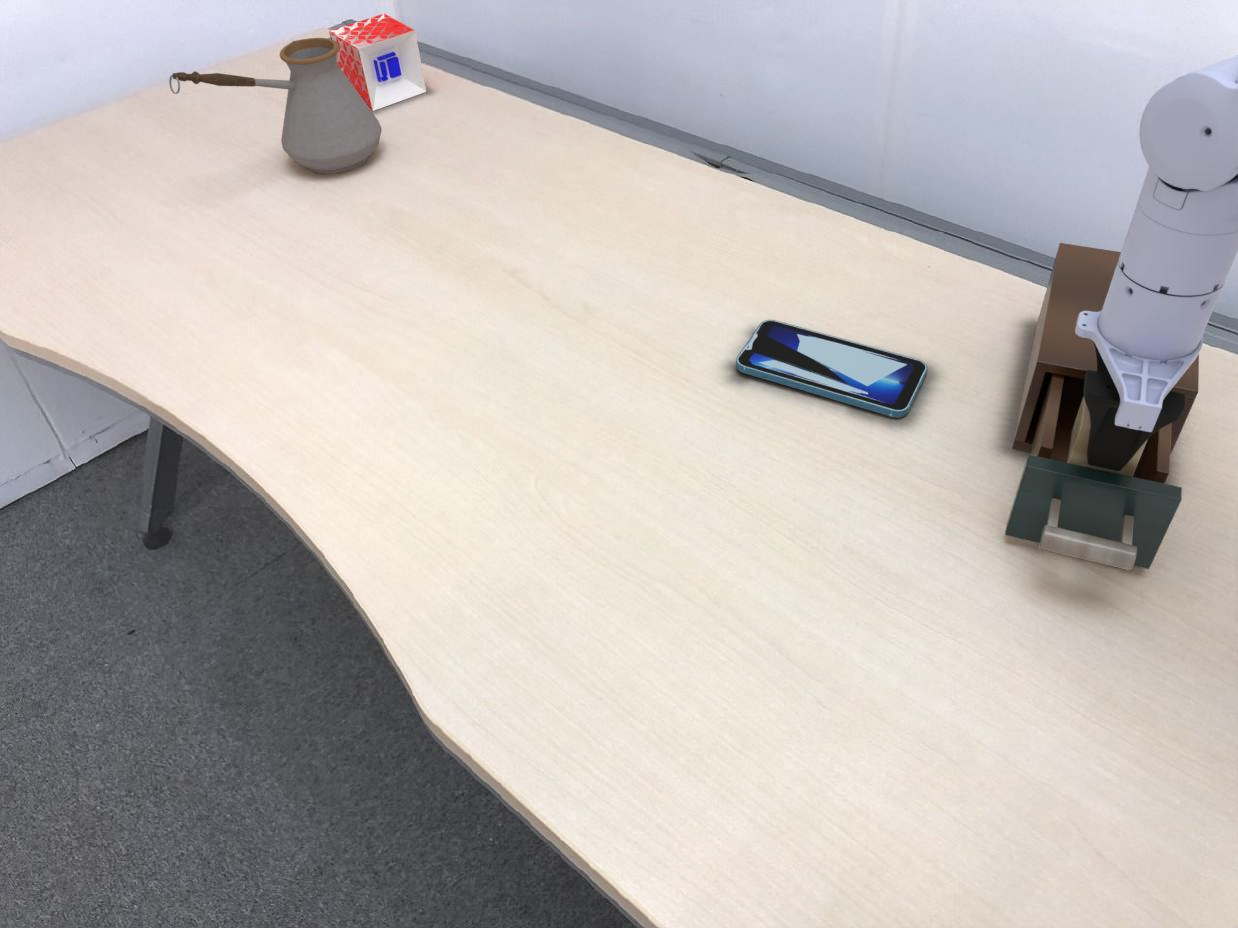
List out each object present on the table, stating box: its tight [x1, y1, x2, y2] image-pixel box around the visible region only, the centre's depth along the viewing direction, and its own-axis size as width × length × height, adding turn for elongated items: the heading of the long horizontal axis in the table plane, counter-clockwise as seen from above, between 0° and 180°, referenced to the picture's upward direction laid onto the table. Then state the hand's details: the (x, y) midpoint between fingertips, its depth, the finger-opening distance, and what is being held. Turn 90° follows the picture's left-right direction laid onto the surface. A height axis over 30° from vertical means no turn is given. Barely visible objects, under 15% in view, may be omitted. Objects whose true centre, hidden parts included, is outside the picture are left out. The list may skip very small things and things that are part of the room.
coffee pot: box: [168, 37, 383, 175], centre depth 113 cm, size 21×12×15 cm, turn 131°
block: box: [1067, 396, 1147, 477], centre depth 68 cm, size 4×4×4 cm
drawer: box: [1004, 372, 1183, 571], centre depth 72 cm, size 20×9×7 cm, turn 158°
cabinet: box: [1011, 242, 1200, 456], centre depth 81 cm, size 17×11×9 cm, turn 158°
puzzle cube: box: [328, 13, 428, 112], centre depth 131 cm, size 8×8×8 cm
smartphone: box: [735, 319, 929, 418], centre depth 87 cm, size 7×1×15 cm
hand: (1106, 441), depth 69 cm, fingers closed on block, 4 cm apart
